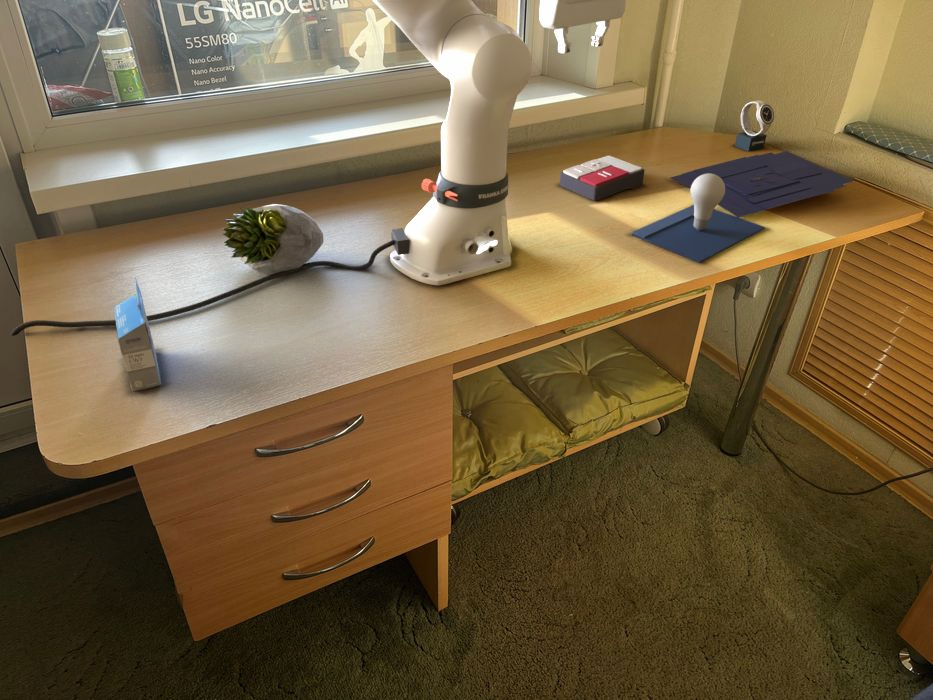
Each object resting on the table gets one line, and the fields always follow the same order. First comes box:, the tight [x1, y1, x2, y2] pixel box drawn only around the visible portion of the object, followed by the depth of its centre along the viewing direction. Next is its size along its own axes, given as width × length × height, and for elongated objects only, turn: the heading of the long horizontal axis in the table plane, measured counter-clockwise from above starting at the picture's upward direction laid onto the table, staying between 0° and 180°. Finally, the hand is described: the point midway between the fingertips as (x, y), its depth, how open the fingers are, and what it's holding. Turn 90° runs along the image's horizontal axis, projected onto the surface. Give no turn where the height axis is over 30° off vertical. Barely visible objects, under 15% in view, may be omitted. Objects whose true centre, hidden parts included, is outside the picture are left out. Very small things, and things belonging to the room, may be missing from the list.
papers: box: [669, 150, 856, 218], centre depth 152 cm, size 24×30×4 cm
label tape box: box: [113, 275, 162, 392], centre depth 93 cm, size 9×4×12 cm, turn 25°
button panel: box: [559, 155, 646, 202], centre depth 154 cm, size 11×4×15 cm
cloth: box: [631, 204, 766, 264], centre depth 135 cm, size 22×15×1 cm
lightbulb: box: [689, 173, 725, 231], centre depth 132 cm, size 6×6×11 cm
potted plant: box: [222, 203, 324, 276], centre depth 118 cm, size 12×13×15 cm
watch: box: [734, 100, 775, 152], centre depth 174 cm, size 6×8×11 cm
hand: (580, 49), depth 133 cm, fingers open, 8 cm apart
